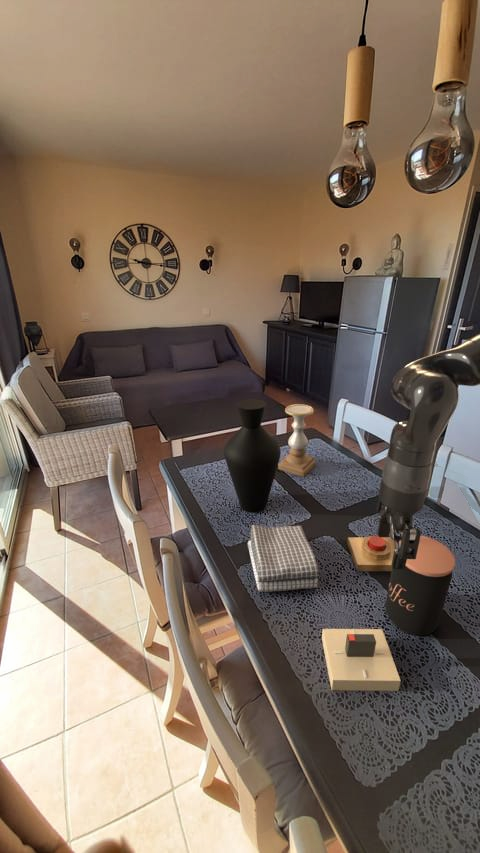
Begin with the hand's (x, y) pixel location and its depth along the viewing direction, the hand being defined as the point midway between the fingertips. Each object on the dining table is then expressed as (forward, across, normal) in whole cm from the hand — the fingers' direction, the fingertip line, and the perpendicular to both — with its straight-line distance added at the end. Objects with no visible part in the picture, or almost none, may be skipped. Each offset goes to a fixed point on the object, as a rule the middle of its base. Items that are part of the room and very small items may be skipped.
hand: (389, 551), depth 70 cm
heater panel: (+20, -9, +6) cm, 23 cm away
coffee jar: (+20, +2, -8) cm, 21 cm away
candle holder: (+20, +66, +10) cm, 70 cm away
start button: (+16, +19, -6) cm, 26 cm away
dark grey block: (+17, -9, +6) cm, 20 cm away
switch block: (+20, +19, -6) cm, 28 cm away
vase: (+20, +42, +27) cm, 54 cm away
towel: (+20, +16, +19) cm, 32 cm away
